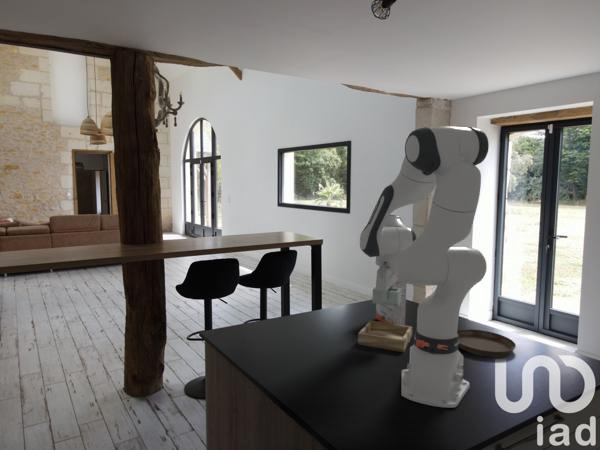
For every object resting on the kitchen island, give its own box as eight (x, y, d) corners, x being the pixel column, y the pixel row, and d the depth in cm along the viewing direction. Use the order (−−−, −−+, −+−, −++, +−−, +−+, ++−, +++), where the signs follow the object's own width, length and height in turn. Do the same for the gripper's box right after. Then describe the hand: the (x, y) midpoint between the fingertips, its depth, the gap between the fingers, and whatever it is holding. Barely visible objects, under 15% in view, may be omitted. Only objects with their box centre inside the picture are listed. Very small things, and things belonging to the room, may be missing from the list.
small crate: (397, 306, 146) (398, 292, 146) (372, 303, 150) (372, 289, 149) (401, 302, 152) (401, 288, 151) (376, 299, 155) (376, 285, 155)
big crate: (403, 352, 141) (404, 340, 141) (357, 344, 148) (358, 333, 148) (411, 337, 156) (412, 326, 156) (369, 330, 162) (370, 320, 162)
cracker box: (374, 318, 177) (376, 270, 175) (387, 317, 179) (388, 269, 177) (392, 329, 164) (394, 277, 162) (405, 328, 166) (407, 276, 164)
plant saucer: (518, 345, 150) (519, 336, 150) (510, 365, 133) (511, 355, 132) (458, 333, 161) (459, 325, 161) (444, 350, 144) (444, 341, 144)
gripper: (390, 265, 139) (389, 306, 140) (402, 256, 157) (401, 292, 158) (372, 264, 141) (370, 304, 142) (385, 255, 160) (384, 290, 161)
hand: (386, 298), depth 151 cm, fingers closed on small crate, 6 cm apart
